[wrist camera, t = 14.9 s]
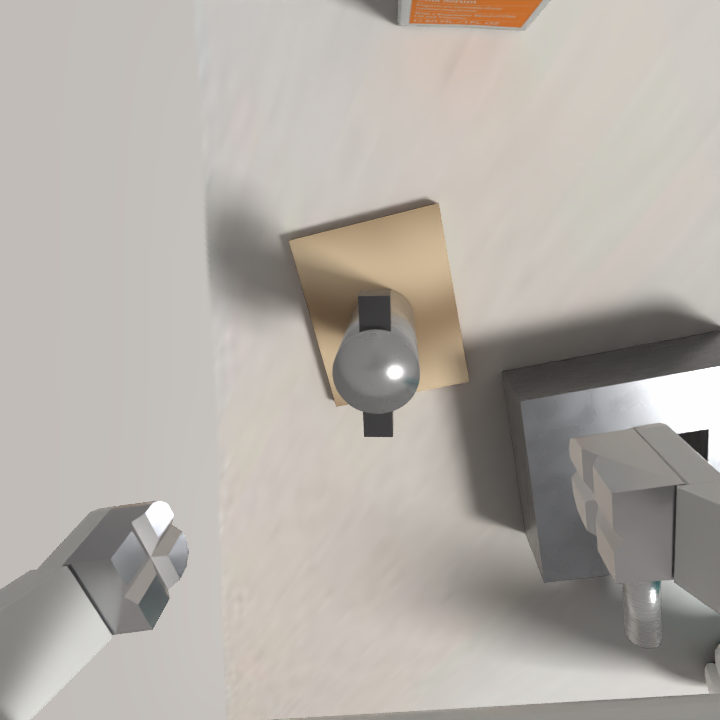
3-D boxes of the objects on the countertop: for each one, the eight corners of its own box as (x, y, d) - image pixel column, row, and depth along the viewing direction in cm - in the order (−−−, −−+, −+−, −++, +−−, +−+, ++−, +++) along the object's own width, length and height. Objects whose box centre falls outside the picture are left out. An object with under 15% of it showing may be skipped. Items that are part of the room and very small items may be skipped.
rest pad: (291, 239, 24) (288, 240, 23) (437, 203, 23) (438, 203, 22) (337, 402, 27) (336, 406, 27) (467, 377, 26) (469, 381, 25)
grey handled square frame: (502, 371, 26) (520, 401, 22) (727, 329, 24) (789, 354, 20) (536, 609, 32) (555, 664, 28) (717, 590, 30) (763, 646, 26)
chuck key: (350, 265, 24) (327, 299, 16) (414, 263, 23) (420, 297, 16) (355, 369, 26) (337, 441, 18) (414, 368, 25) (419, 442, 18)
